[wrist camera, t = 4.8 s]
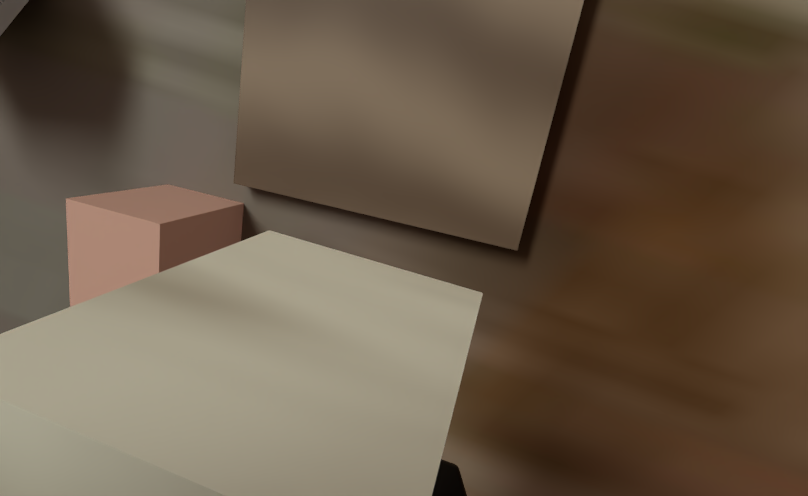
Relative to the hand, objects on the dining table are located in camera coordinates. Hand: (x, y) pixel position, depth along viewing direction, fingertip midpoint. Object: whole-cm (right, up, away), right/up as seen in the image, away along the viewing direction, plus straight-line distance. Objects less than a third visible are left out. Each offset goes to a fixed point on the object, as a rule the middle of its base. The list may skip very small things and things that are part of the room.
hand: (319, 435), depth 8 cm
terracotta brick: (-8, +3, +13) cm, 16 cm away
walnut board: (+1, +11, +9) cm, 14 cm away
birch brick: (0, 0, +1) cm, 1 cm away
